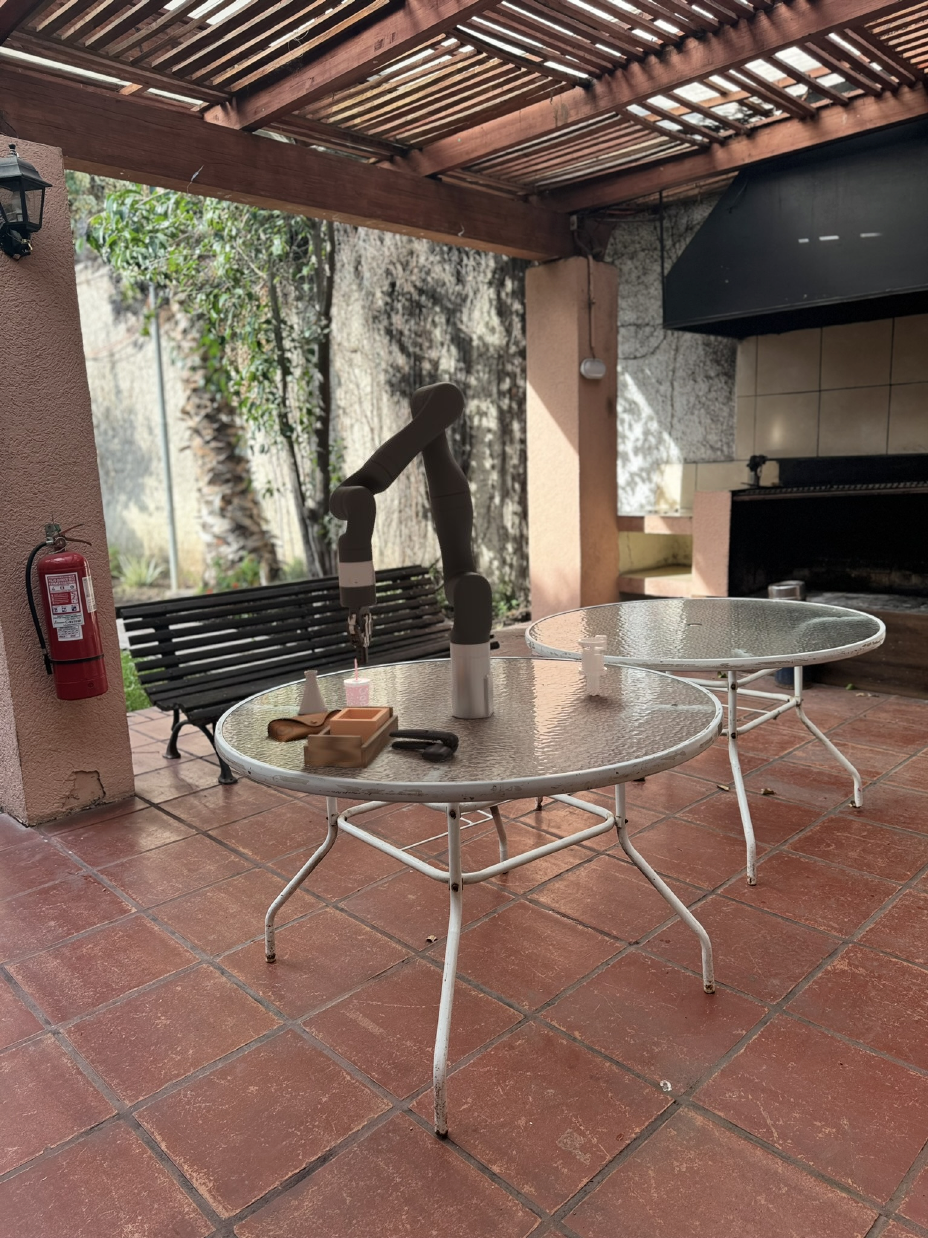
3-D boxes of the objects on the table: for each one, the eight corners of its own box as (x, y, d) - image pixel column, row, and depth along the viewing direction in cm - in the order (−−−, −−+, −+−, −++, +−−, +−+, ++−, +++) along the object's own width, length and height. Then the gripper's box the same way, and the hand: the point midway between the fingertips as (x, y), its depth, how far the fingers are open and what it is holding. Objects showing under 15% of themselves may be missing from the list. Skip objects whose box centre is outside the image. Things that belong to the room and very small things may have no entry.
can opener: (468, 757, 176) (467, 729, 175) (444, 766, 171) (443, 738, 170) (404, 743, 187) (402, 717, 187) (379, 751, 182) (378, 724, 181)
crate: (390, 730, 192) (389, 708, 192) (376, 743, 182) (375, 721, 182) (346, 729, 194) (345, 707, 193) (330, 742, 184) (329, 720, 183)
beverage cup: (349, 723, 204) (346, 662, 202) (342, 717, 210) (339, 658, 208) (375, 719, 206) (372, 660, 204) (367, 713, 212) (364, 655, 210)
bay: (398, 733, 194) (397, 706, 193) (366, 767, 171) (365, 737, 170) (343, 732, 196) (342, 705, 195) (304, 766, 173) (302, 736, 172)
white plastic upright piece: (607, 698, 219) (606, 637, 217) (578, 697, 221) (577, 638, 218) (607, 691, 226) (607, 633, 224) (579, 691, 227) (578, 633, 225)
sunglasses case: (280, 743, 189) (273, 714, 191) (271, 753, 194) (264, 724, 197) (358, 729, 198) (350, 701, 200) (347, 739, 204) (340, 711, 206)
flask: (322, 716, 211) (319, 675, 210) (293, 715, 213) (290, 674, 211) (332, 708, 218) (330, 668, 217) (304, 708, 220) (302, 668, 218)
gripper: (365, 586, 179) (371, 670, 182) (383, 578, 192) (388, 658, 195) (329, 587, 181) (335, 671, 183) (349, 579, 193) (355, 658, 196)
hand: (362, 664), depth 189 cm, fingers closed
